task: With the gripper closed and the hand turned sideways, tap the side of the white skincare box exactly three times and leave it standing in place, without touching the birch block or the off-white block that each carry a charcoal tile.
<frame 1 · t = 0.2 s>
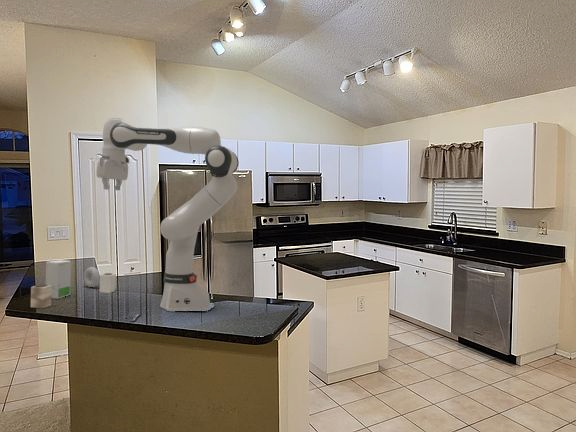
hand: (112, 189, 179), 48 cm above the worktop, tool pointing down, fingers open, 8 cm apart
skincare box: (57, 297, 183), on the worktop
off-white marked block: (107, 291, 198), on the worktop
donut: (91, 287, 204), on the worktop
birch marked block: (40, 306, 167), on the worktop
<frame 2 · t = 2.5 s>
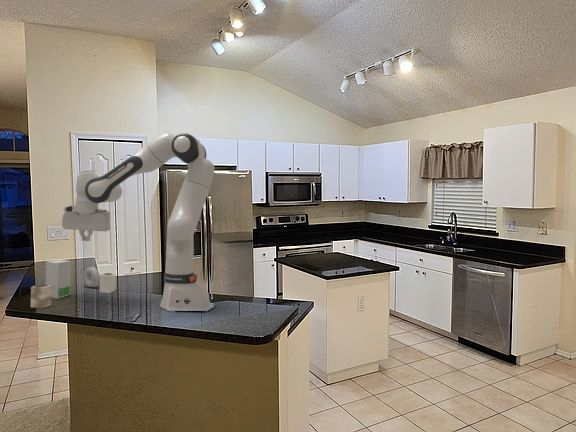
hand: (85, 240, 181), 25 cm above the worktop, tool pointing down, fingers closed
nothing on the worktop moved.
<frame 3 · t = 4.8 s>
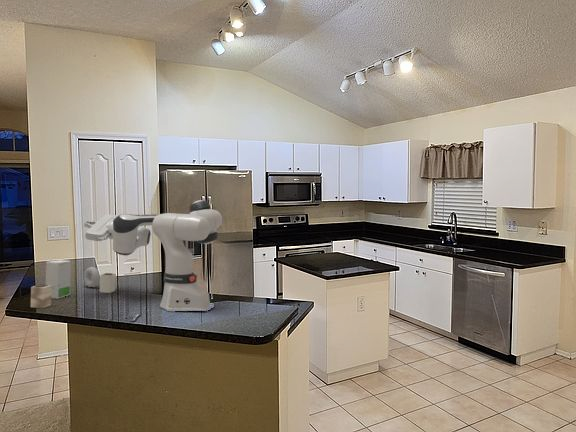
hand: (85, 223, 192), 32 cm above the worktop, tool horizontal, fingers closed
nothing on the worktop moved.
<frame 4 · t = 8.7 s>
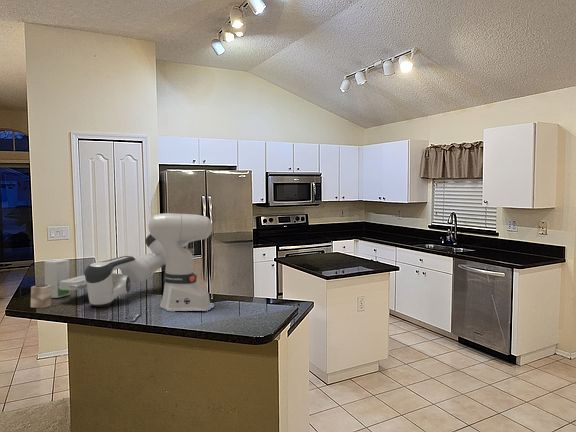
hand: (62, 281, 181), 7 cm above the worktop, tool horizontal, fingers closed
skincare box: (57, 296, 183), on the worktop, touching gripper
everything else where it was.
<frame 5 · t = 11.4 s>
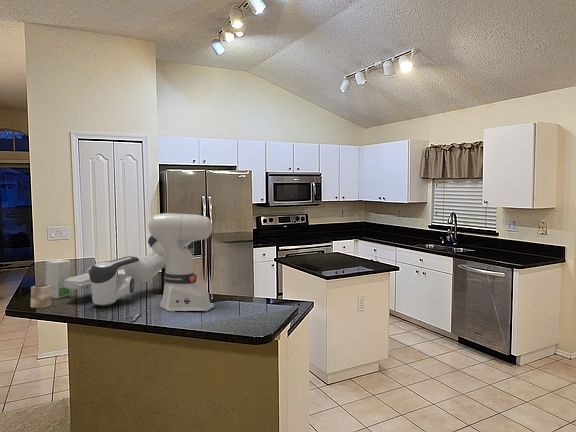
hand: (67, 278, 182), 8 cm above the worktop, tool horizontal, fingers closed
skincare box: (57, 296, 183), on the worktop
everything else where it was.
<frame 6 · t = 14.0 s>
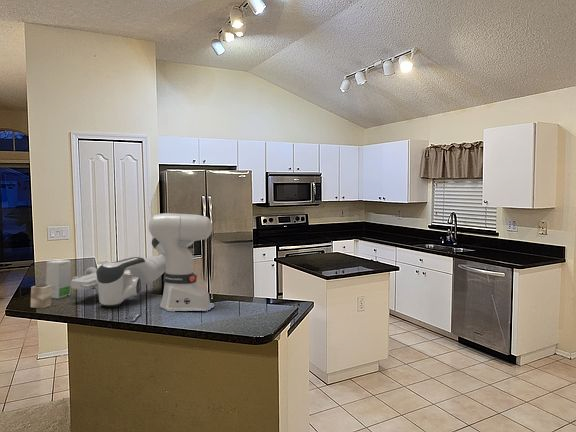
hand: (74, 278, 182), 8 cm above the worktop, tool horizontal, fingers closed
nothing on the worktop moved.
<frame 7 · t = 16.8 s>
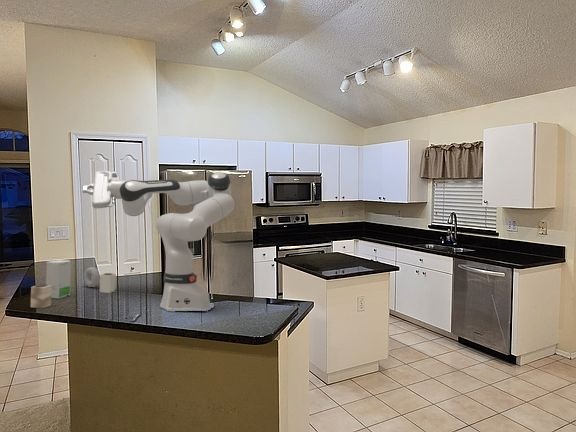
hand: (82, 189, 191), 47 cm above the worktop, tool horizontal, fingers closed
nothing on the worktop moved.
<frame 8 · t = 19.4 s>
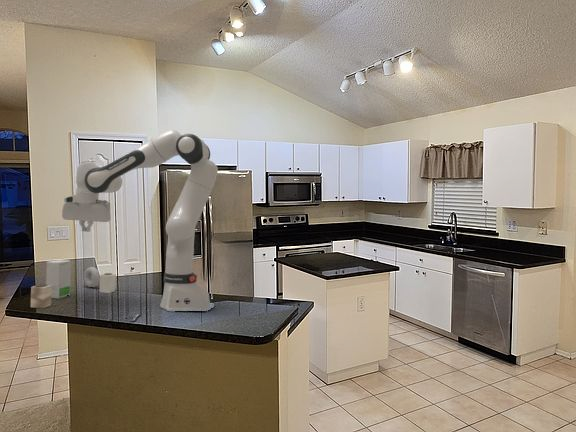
hand: (85, 231, 181), 29 cm above the worktop, tool pointing down, fingers closed
nothing on the worktop moved.
at the end: skincare box moved 0.4 cm from its start; skincare box tilted 0°; birch marked block moved 0.1 cm from its start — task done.
